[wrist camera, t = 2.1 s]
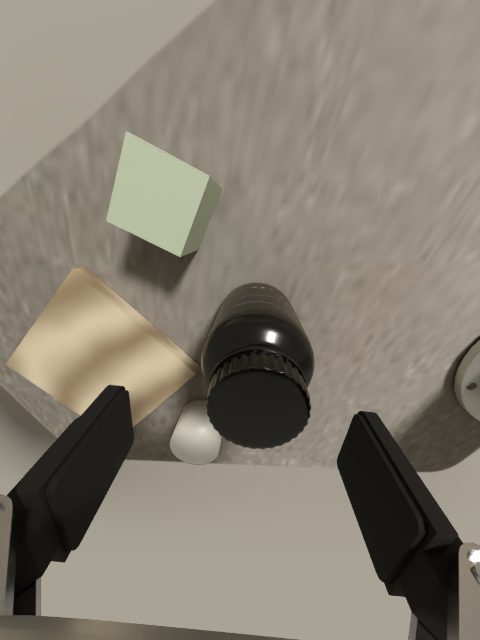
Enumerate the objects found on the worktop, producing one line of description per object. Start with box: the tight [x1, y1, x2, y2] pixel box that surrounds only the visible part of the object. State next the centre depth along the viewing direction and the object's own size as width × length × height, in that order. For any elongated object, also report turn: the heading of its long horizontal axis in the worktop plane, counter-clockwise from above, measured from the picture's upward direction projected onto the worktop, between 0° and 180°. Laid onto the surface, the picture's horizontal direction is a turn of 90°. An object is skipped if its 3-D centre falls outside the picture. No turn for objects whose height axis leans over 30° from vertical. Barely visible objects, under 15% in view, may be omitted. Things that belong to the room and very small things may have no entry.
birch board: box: [6, 267, 200, 427], centre depth 24 cm, size 14×14×2 cm
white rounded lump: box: [170, 400, 222, 465], centre depth 25 cm, size 5×5×4 cm
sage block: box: [106, 131, 222, 257], centre depth 16 cm, size 5×5×5 cm
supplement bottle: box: [201, 283, 314, 449], centre depth 16 cm, size 7×7×12 cm
